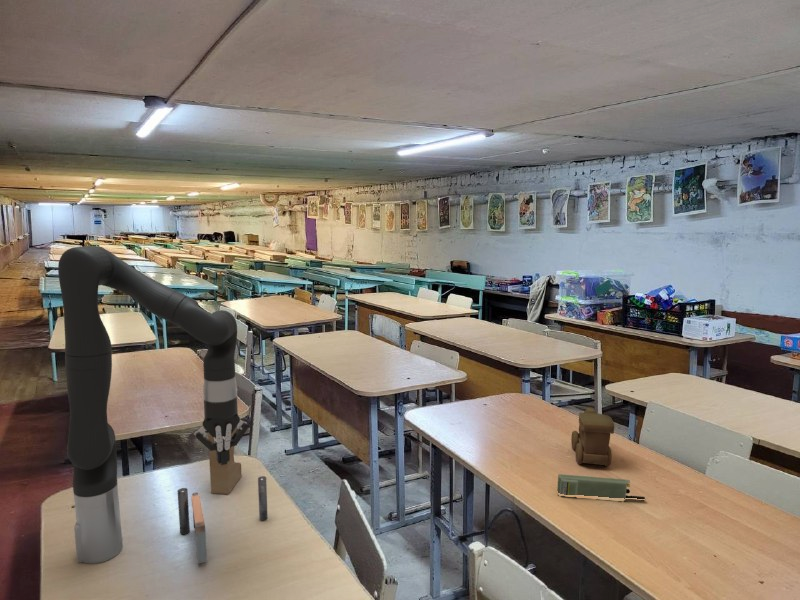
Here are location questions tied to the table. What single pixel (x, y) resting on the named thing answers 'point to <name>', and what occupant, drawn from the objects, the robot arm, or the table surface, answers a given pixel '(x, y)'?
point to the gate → (199, 528)
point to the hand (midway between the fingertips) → (223, 463)
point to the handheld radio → (594, 486)
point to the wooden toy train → (593, 438)
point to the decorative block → (223, 471)
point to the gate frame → (185, 508)
